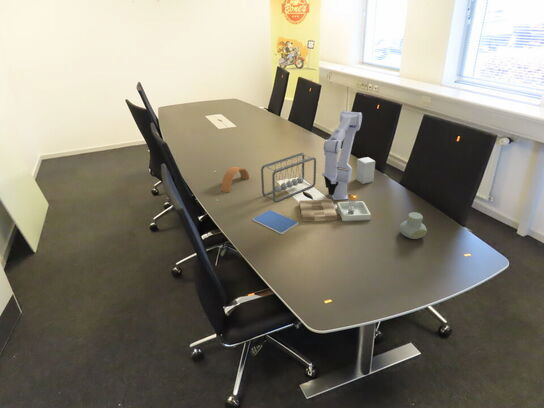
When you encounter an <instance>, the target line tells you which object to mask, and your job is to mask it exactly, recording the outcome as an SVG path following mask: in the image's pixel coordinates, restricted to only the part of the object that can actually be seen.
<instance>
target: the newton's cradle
mask: <svg viewBox="0 0 544 408" xmlns="http://www.w3.org/2000/svg"><path fill="white" fill-rule="evenodd" d="M301 156H302V157H301ZM300 157H301V159H300V160H298V158H300ZM305 157H306V158H305ZM294 159H296V161H295V162H290V160H291V161H294ZM310 161H313V181H312V182H313V183H312V185H310V184H308V183H307V182H305V181H304V180H305V163H307V162H310ZM287 162H288V163H289V164H287ZM283 163H286V164H285V165H284V166H279V165H278V164H283ZM299 165H301V169H300V171H299V167H297V166H299ZM273 166H275V167H274V169H273V168H271V167H273ZM276 166H277V167H279V168H276ZM295 166H296V167H297V168H296V170H295V171H296V172H297V169H298V172H301V174H299V176H298V177H297V175H295V174H294V171H293V168H294V167H295ZM264 168H267V169H269V170H271V171H273V172H272V174H271V179H272V180H271V181H272V182H271V183H272V184H271V185H272V190H271V191H268V192H266V193H265V181H264ZM288 169H290V171H292V172H293V175H294V178H293V179H292V180H290V178H291V176H292V174H289V175H290V177H289V176H287V178H288V180H287V181H286V182H285V180H283V182H282V183H281V184H280V185H279V183H276V181H275V178H276V180H280V177H281V176H282V178H284V177H286V175H287V173H289V171H288ZM283 171H286V173H285V174H284V175H285V176H284V175H283V174H281V176H279V178H277V175H276V174H277V173H282V172H283ZM260 172H261V173H260V177H261V194H262V196H264V197H265V196H267V197H269V198H271V199H272V200H273V202H274V203H278V202H281V201H283V200H285V198H286V199H288V198H290V197H294V196H295V195H297V194H300V193H303V192H304V191H307V190H309V189H311V188H314V187H315V185H316V178H317V177H316V176H317V175H316V174H317V159H316V157H314V156H312V157H311V156H309V155H306V154H304V152H299V153H296V154H293V155H290V156H287V157H284V158H282V159H279V160H275V161H273V162H269V163H267V164H264V165H262V166H261V167H260ZM283 176H284V177H283ZM296 177H297V178H296ZM275 183H276V184H275ZM298 184H299V185H300V184H305V185H307V187H305V188H302V189H300V190H297V191H295V192H292V193H290V194H288V195H285V196H283V197H281V198H277V199H276V193H280V192H281V191H282V190H283V191H286V190H287V189H288V188H289V189H290V188H292V187H295V186H298ZM271 194H272V196H269V195H271Z"/></svg>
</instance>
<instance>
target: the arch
mask: <svg viewBox="0 0 544 408" xmlns="http://www.w3.org/2000/svg"><path fill="white" fill-rule="evenodd" d="M238 172H239V174H240V179H241V178H242V179H244V178H245V179H246V180H250V175H249V171H248V170H247V169H246V168H244V167H243V168H242V167H238V166H231V167H230V168H228V169H227V171H225V174H224V176H223V179H222V181H221V182H222V183H221V191H222V192H225V193H229V194H230V193H231V192H232V190H231V188H232V183H233V179H234V177H235V176H236V174H238ZM245 179H244V180H245Z"/></svg>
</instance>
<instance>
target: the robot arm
mask: <svg viewBox="0 0 544 408" xmlns="http://www.w3.org/2000/svg"><path fill="white" fill-rule="evenodd" d="M362 120H363V113H362V112H356V111H347V110H346V111H345V110H342V111H341V112H340V113H339V125H338V127H337V128H335V129H334V130H333V132H332V133H331V135H330V136H329V138H328V139H326V140H325V141H324V144H323V151H324V156H325V158H324V172H322V173H321V176H322V177H323V178H324V183H325V184H324V185H325V188H326V189H327V190H328V191H327V192H328V196H331V197H332V200H333V201H341V200H349V199H348V193H347V192H348V184H349V183H350V182H351V180H352V176H353V175H352V174H353V167H352V166H351V165H350V164H349V162H350V156H351V154H352V153H351V152H352V150H353V148H352V147H353V143H354V140H355V136H356V133H357V132H358V131H360V128H361V126H362ZM339 152H340V155H339Z"/></svg>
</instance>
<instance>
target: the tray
mask: <svg viewBox="0 0 544 408" xmlns="http://www.w3.org/2000/svg"><path fill="white" fill-rule="evenodd" d="M336 207H337V211H338V213H339V216H340V218H341V220H342V222H355V221H356V222H358V221H359V222H360V221H362V222H363V221H371V218H372V215H371V212H370V210H369V209H368V206H367V205H366V203H365V202H364V201H362V200H360V201H359V200H358V201H357V200H356V203H355V213H354V214H349V213H348V209H349V201H340V202H339V201H338V202H337V205H336Z"/></svg>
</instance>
